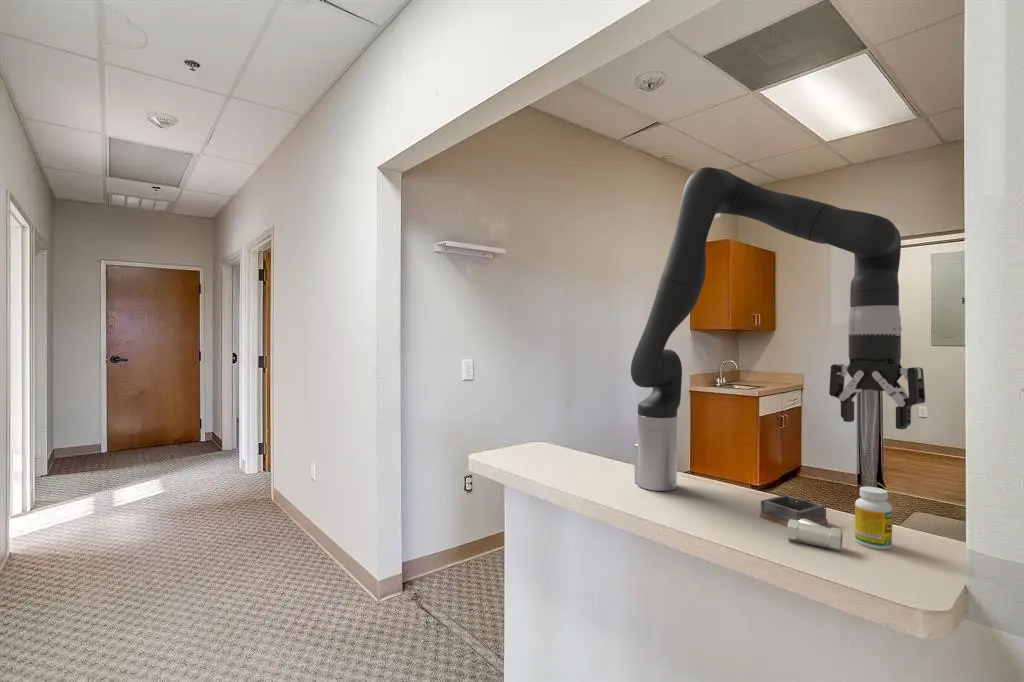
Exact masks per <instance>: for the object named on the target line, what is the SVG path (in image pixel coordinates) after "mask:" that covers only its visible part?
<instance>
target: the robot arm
mask: <svg viewBox="0 0 1024 682" xmlns="http://www.w3.org/2000/svg"><path fill="white" fill-rule="evenodd" d="M716 214H717V215H718V214H725V215H733V216H741V217H745V218H748V219H753V220H756V221H758V222H761V223H763V224H765V225H767V226H770V227H772V228H774V229H776V230H779V231H781V232H782V233H786V234H788V235H791V236H794V237H796V238H799V239H803V240H807V241H810V242H813V243H816V244H820V245H821V244H823V245H830V246H832V247H835V248H839V249H841V250H844V251H847V252H849V253H852V254H854V267H853V268H854V275H853V278H852V279H851V281H850V293H849V297H850V299H849V300H850V301H849V304H850V306H849V307H850V308H849V315H848V358H849V363H848V365H844V364H843V363H842V364H841V363H839V364H836V363H835V364H832V365H830V372H829V373H830V375H829V390H828V393H829V396H831V397H835V398H836V399H838V400H839V401H840V417H841V419H842V420H843V422H845V423H851V422H854V421H855V401H854V398H855V397H856V396H857V395H858V394H859V393H860V392H862V391H871V390H872V391H876V392H885V393H886V394H887V396H889V397H891V399H892V400H893V401H894V402H895V403H896V405H897V406H895V428H896V429H897V430H906V429H907V428H908V427H910V426H911V424H912V407H913V406H915V405H920V404H924V403H926V391H925V378H924V377H925V376H924V369H923V368H922V367H920V366H918V367H917V366H913V367H909V368H908V367H905V368H904V367H902V365H901V358H902V329H903V327H902V319H901V317H902V316H901V313H900V284H899V270H900V269H899V268H900V263H901V262H900V261H901V250H902V248H901V247H902V238H901V233H900V231H899V229H898V228H897V226H896V225H895V224H894V223H893V222H892V221H891V220H890V219H889V218H887V217H883V216H882V215H881V216H880V215H878V214H873V213H869V212H863V211H859V210H854V209H853V210H852V209H848V208H847V209H845V208H841V207H837V206H836V205H832V204H828V203H826V202H821V201H818V200H814V199H810V198H807V197H802V196H797V195H793V194H789V193H788V194H787V193H783V192H778V191H774V190H771V189H767V188H764V187H760V186H758V185H756V184H753V183H751V182H749V181H747V180H745V179H742V178H741V177H739V176H737V175H735V174H734V173H732V172H730V171H728V170H725V169H721V168H717V167H709V166H708V167H707V166H705V167H701V168H699V169H697V170H695V171H694V172H693V173H692V174H691V175H690V176H689V178H688V179H687V180H686V183H685V186H684V188H683V192H682V196H681V201H680V207H679V210H678V217H677V221H676V227H675V231H674V235H673V237H672V241H671V242H670V243H671V244H670V247H669V251H668V254H667V258H666V261H665V264H664V267H663V271H662V273H661V275H660V279H659V282H658V286H657V288H656V289H657V290H656V293H655V298H654V300H653V303H652V305H651V306H652V307H651V309H650V313H649V316H648V317H647V318H648V319H647V322H646V324H645V327H644V330H643V332H642V335H641V336H640V339H639V341H638V344H637V346H636V348H635V350H634V351H635V352H634V353H633V357H632V360H631V364H630V376H631V380H632V381H633V383H634V384H635V386H638V387H640V388H647V389H648V388H652V392H651V393H650V394H649V396H647V397H646V398H645V399H644V400H642V401H640V402H639V403H638V404H637V443H636V444H634V483H635V484H636V485H637V486H638V487H639V488H642V489H645V490H650V491H656V492H657V491H658V492H667V491H674V490H676V489H677V485H678V484H677V482H678V481H677V480H678V477H677V476H678V409H679V406H680V405H681V398H682V383H683V381H682V380H683V366H682V365H683V364H682V360H681V359H680V356H679V354H677V353H678V352H676V351H674V350H672V349H667V348H665V347H666V344H667V343H668V340H669V339H670V337H671V335H673V333H674V331H675V330H676V329H677V328H678V327H679V326H680V325H681V323H683V322H684V320H685V319H687V317H688V316H689V315H690V314H691V312H692V311H693V310H694V308H695V307H696V304H697V303H698V300H699V298H700V294H701V292H702V289H703V286H704V283H705V279H706V274H707V256H706V248H707V247H706V246H707V242H708V241H707V240H708V235H709V233H710V230H711V227H712V223H713V221H714V219H715V217H716ZM848 375H849V376H850V377H851V379H850V381H848V383H847V384H846V385H845V377H846V376H848ZM902 376H903V377H904V379H905V380H906V381H907V386H908V387H907V390H908V394H907V392H906V388H904V387H903V385H902V384H901V383H900V381H899V379H901V377H902Z"/></svg>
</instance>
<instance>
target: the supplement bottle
mask: <svg viewBox="0 0 1024 682" xmlns="http://www.w3.org/2000/svg"><path fill="white" fill-rule="evenodd" d="M859 496H860V497H859V498H857V499H856V500H855V503H854V541H855V542H856V543H858V544H860V545H861V546H864V547H866V548H870V549H874V550H888V549H891V548H892V547H893V546H892V545H893V507H892V505H891V504H890V503H889V502H888V501H887V500H888V498H889V497H888V496H889V494H888V490H886V489H884V488H880V487H875V486H861V487H859Z"/></svg>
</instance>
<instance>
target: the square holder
mask: <svg viewBox="0 0 1024 682" xmlns="http://www.w3.org/2000/svg"><path fill="white" fill-rule="evenodd" d="M796 501H797V502H796ZM824 508H825V509H824ZM758 515H759V518H762V517H763V518H762V519H764V520H767V519H768V521H770V520H771V522H773V521H774V523H776V524H779V523H780V525H783V526H786V527H787V525H788V521H789V520H790V519H793V520H798V521H799V520H800V519H808V520H810V521H812V522H814V523H817V524H819V525H821V526H823V525H826V524H828V523H829V521H828V518H827V505H823V504H820V503H817V502H814V501H810V500H806V499H803V498H799V497H795V496H792V495H788V494H785V495H779V496H774V497H771V498H767V499H762V500H760V512H759V513H758ZM825 523H826V524H825ZM822 524H823V525H822Z"/></svg>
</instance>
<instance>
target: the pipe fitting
mask: <svg viewBox="0 0 1024 682" xmlns="http://www.w3.org/2000/svg"><path fill="white" fill-rule="evenodd" d="M843 535H844V533H843V530H842V529H841V528H838V527H831V528H828V527H826V526H823V525H819V524H817V523H814V522H812V521H810V520H808V519H800V520H799V521H798V520H793V519H790V520H789V521H788V525H787V526H786V538H787V541H791V542H794V543H803V544H807V545H813V546H817V547H821V548H826V549H829V550H830V551H835V552H839V553H841V552H842V551H843V544H844V543H843V540H844V538H843V537H844V536H843Z"/></svg>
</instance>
